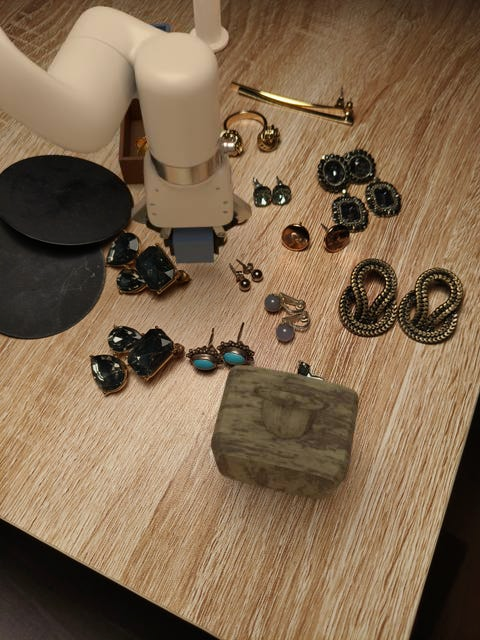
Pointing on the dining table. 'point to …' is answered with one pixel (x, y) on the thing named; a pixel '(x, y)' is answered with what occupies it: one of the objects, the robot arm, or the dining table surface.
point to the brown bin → (131, 144)
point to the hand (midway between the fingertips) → (194, 245)
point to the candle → (209, 24)
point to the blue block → (193, 245)
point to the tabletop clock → (284, 431)
